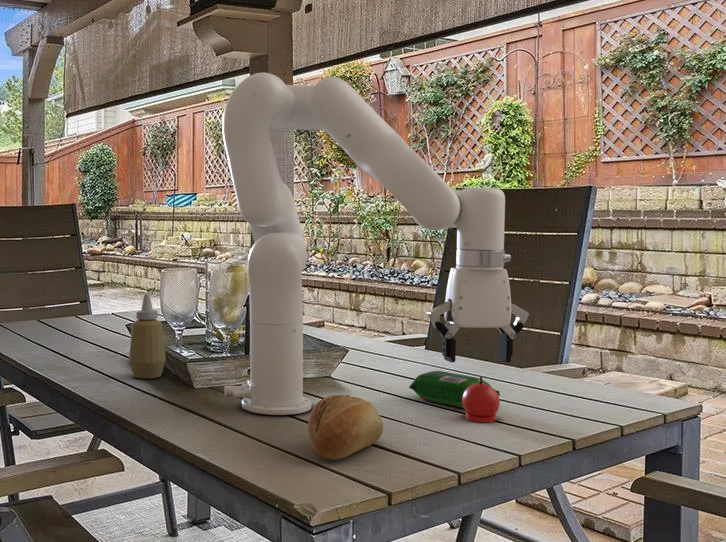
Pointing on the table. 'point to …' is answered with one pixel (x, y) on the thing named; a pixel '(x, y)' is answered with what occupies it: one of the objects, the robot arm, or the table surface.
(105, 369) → the table surface
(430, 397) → the snack package
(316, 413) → the bread roll
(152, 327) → the squeeze bottle
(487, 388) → the candle
